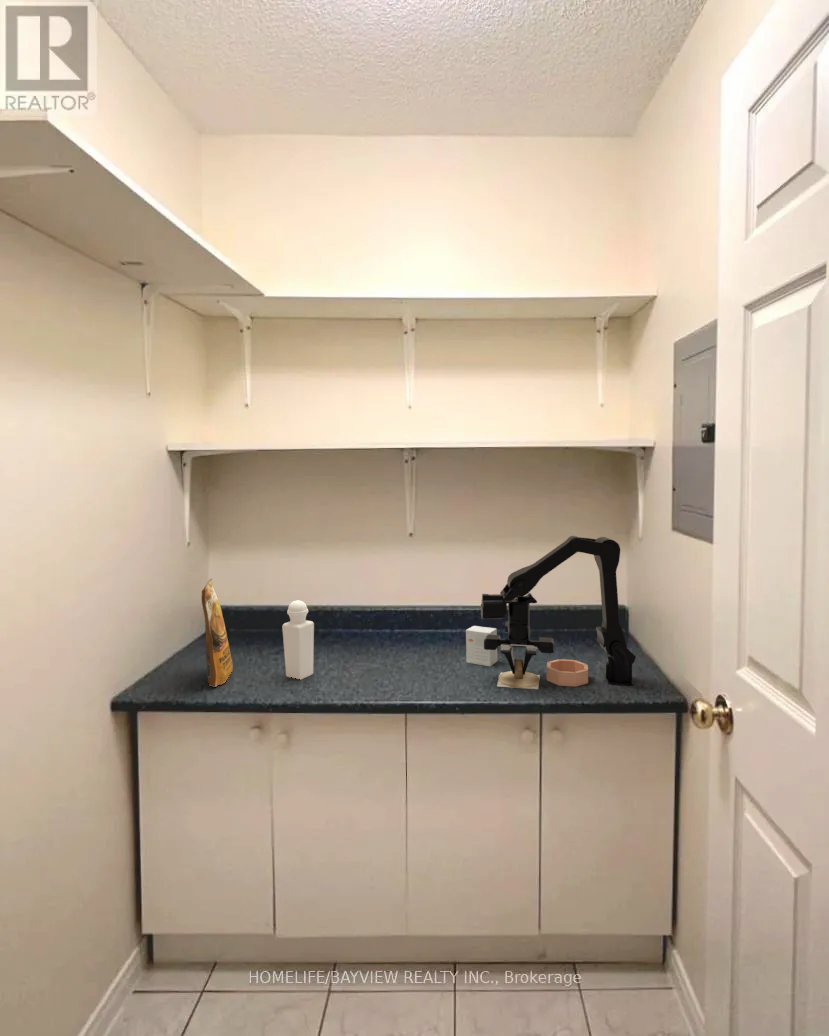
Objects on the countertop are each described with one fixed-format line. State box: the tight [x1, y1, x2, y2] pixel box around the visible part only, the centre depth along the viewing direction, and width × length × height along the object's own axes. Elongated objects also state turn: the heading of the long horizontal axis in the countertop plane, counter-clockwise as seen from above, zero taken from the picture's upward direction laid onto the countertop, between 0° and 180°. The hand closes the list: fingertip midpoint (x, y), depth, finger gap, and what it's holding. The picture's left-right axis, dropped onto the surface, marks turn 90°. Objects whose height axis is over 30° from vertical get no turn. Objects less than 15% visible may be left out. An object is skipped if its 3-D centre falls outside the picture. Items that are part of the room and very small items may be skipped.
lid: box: [498, 658, 540, 689], centre depth 169 cm, size 11×11×6 cm
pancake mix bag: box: [200, 578, 234, 687], centre depth 174 cm, size 7×19×28 cm, turn 5°
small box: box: [465, 625, 498, 667], centre depth 185 cm, size 8×6×10 cm
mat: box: [496, 672, 541, 690], centre depth 169 cm, size 11×11×1 cm
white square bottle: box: [281, 599, 315, 681], centre depth 176 cm, size 6×6×22 cm
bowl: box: [546, 658, 589, 688], centre depth 170 cm, size 11×11×4 cm
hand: (518, 674), depth 169 cm, fingers closed on lid, 2 cm apart
